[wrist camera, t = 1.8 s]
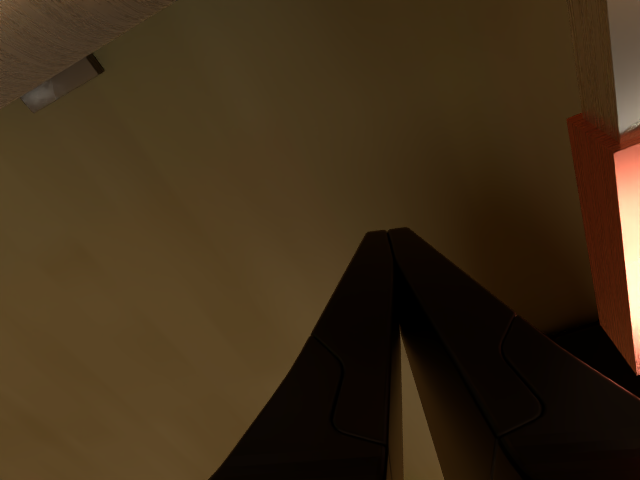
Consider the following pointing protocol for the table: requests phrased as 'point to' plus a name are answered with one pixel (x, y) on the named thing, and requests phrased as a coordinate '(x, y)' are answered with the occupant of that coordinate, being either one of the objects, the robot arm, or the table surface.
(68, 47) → the valve
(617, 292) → the lever
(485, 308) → the robot arm
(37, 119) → the table surface
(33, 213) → the table surface
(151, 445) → the table surface
